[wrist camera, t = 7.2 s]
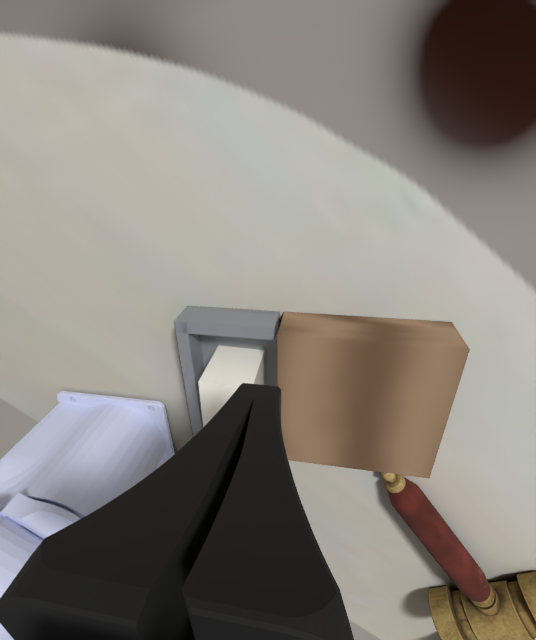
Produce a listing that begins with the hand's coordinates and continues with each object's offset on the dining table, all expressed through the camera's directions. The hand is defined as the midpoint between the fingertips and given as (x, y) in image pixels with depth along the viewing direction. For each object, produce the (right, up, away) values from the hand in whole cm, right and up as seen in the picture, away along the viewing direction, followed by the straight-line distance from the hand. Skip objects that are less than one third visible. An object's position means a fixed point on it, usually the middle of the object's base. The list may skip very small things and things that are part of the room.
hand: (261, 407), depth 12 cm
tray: (-2, -1, +13) cm, 13 cm away
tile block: (0, -2, +10) cm, 10 cm away
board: (+6, -1, +11) cm, 13 cm away
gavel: (+16, -16, +18) cm, 29 cm away
